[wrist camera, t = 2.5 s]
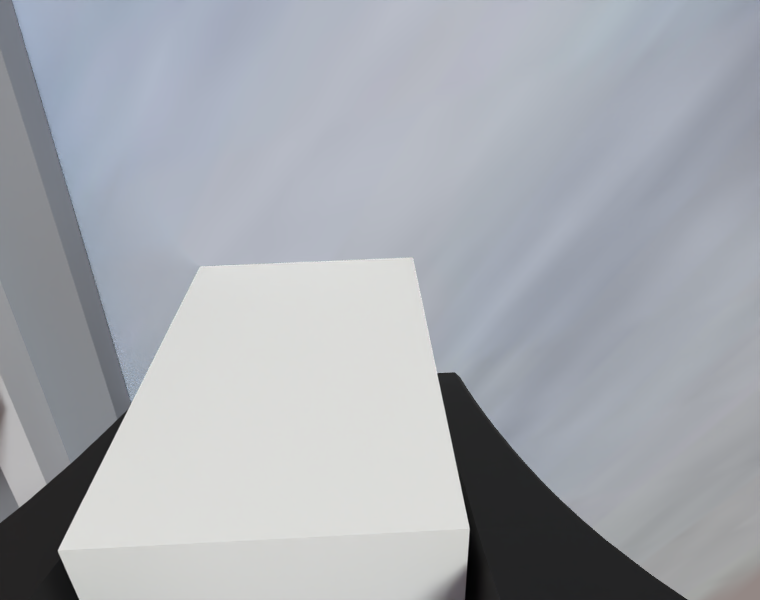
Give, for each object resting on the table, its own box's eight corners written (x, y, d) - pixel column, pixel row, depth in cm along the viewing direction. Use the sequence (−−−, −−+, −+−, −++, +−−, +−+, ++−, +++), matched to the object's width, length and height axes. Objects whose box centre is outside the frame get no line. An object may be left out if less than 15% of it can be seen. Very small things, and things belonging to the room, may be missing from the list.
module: (413, 420, 15) (455, 736, 9) (231, 429, 15) (148, 755, 9) (412, 257, 13) (469, 528, 7) (200, 266, 13) (58, 550, 6)
